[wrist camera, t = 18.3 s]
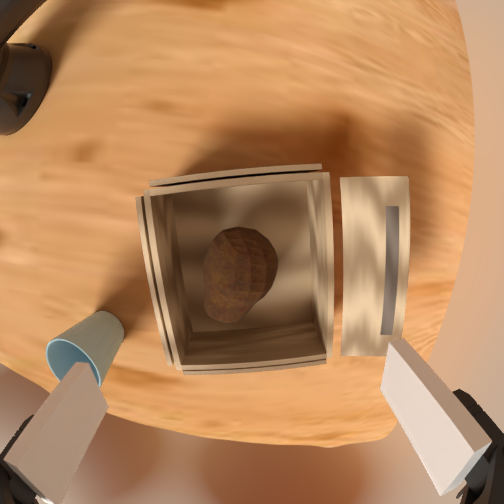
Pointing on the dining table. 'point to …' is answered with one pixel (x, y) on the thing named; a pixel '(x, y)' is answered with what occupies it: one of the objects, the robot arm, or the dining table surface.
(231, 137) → the dining table surface
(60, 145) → the dining table surface
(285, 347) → the carton
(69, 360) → the cup
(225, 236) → the potato
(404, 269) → the flap
